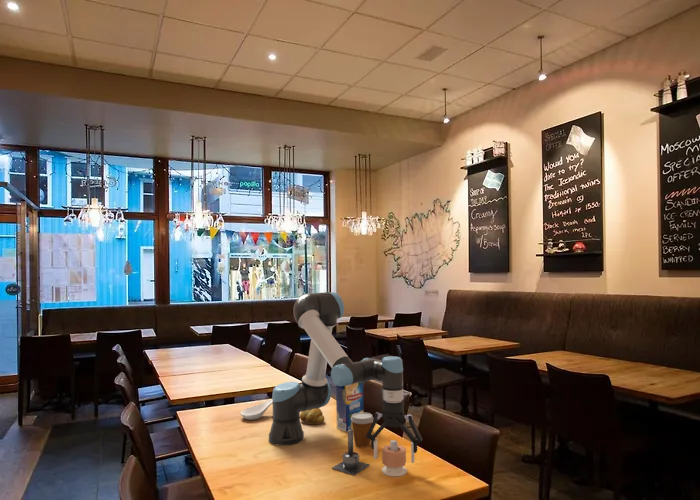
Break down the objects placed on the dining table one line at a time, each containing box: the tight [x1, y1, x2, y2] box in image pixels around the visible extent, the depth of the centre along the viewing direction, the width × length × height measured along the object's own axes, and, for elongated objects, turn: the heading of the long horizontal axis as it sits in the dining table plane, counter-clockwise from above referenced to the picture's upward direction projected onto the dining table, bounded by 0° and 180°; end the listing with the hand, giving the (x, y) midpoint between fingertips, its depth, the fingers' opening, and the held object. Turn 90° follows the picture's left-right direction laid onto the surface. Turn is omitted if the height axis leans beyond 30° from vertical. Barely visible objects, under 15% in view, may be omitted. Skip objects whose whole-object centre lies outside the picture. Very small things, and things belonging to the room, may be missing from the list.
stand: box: [331, 429, 371, 476], centre depth 173 cm, size 10×10×14 cm
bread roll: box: [300, 408, 325, 425], centre depth 225 cm, size 13×10×8 cm
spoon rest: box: [240, 399, 273, 421], centre depth 236 cm, size 24×12×7 cm, turn 125°
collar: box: [381, 444, 407, 468], centre depth 169 cm, size 8×8×5 cm
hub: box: [381, 439, 408, 478], centre depth 169 cm, size 9×9×10 cm
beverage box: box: [335, 382, 365, 433], centre depth 217 cm, size 7×11×22 cm, turn 133°
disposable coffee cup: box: [351, 412, 374, 448], centre depth 195 cm, size 10×10×12 cm
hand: (394, 459), depth 169 cm, fingers open, 13 cm apart
